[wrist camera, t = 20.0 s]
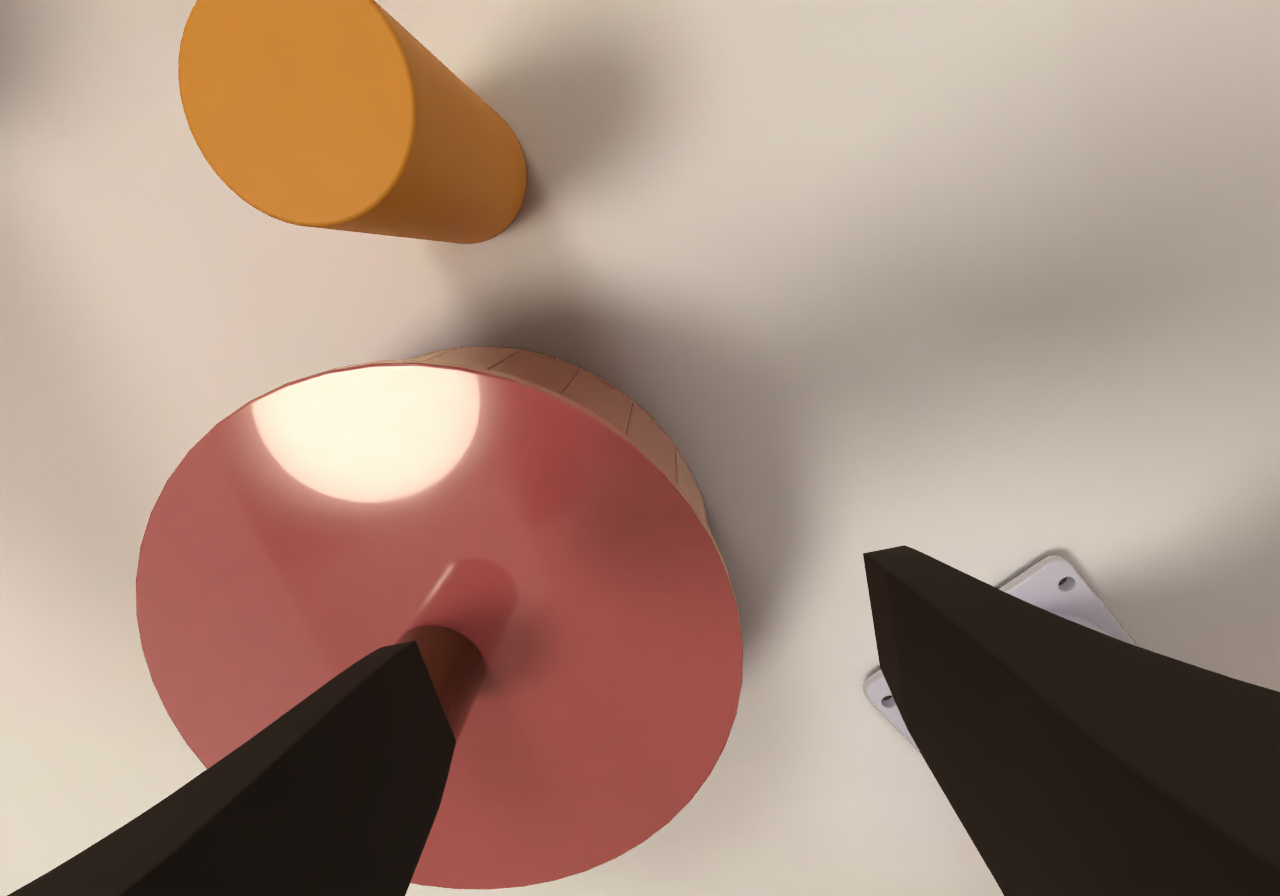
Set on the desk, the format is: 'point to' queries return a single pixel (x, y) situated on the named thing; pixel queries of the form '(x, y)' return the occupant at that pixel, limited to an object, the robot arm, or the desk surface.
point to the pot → (583, 401)
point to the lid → (454, 601)
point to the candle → (345, 122)
